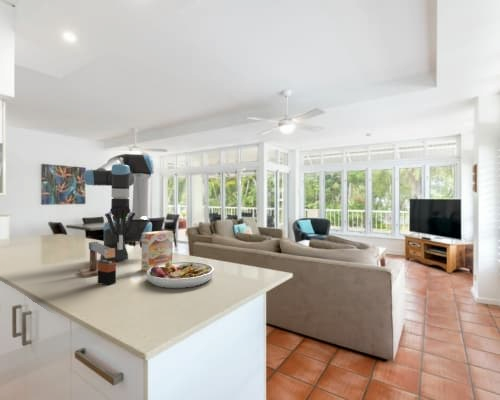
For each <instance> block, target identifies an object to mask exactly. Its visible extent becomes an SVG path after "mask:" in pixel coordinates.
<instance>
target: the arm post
mask: <svg viewBox="0 0 500 400" xmlns="http://www.w3.org/2000/svg"><path fill="white" fill-rule="evenodd" d="M97 262H98V253H97V252H95V251H93V250H91V249H89V268H86V269H85V268H84V269H79V270H78V273H79V274H80V275H81V276H82V277H83V278H84V279H85V278H90V277H91V278H92V277H96V276H97V277H98V263H97Z"/></svg>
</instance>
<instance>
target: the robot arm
mask: <svg viewBox="0 0 500 400" xmlns="http://www.w3.org/2000/svg"><path fill="white" fill-rule="evenodd" d="M154 169H155V168H154V162H153V158H152V156H151V155H149V154H137V153H136V154H134V153H133V154H132V153H131V154H130V153H129V154H128V153H123V154H119V155H115V156H113V157H111V158H109V159H108V160H107V162H106V163H104V164H102V165H101V166H100V167H97V168H96V169H86V170H85V171H84V173H83V182H84V184H85V185H87V186H94V187H95V186H107V187H108V186H109V187H110V186H111V195H110V196H111V200H110V201H111V202H110V205H111V206H110V210H109V212H107V213H104V216H105V218H106V220H107V222H105V223H104V224H103V245H105V246H107V247H109V248H114V249H115V257H112V258H105V256H103V255H101V254H100V256H99V260H100V262H103V261H102V260H107V261H112V262H115V263H116V262H118V263H119V262H122V261H123V262H124V261H126V260H128V259H129V254H128V253H129V252H128V250H127V248H126V243H127V242H128V243H133V242H134V243H135V242H136V243H138V242H139V243H142V233H145V232H153V231H152V229H153V223H152V222H151V221H150V219H149V217H148V200H149V199H148V195H149V194H148V193H149V192H148V191H149V179H150V178H152V175H153V174H154V172H155V170H154ZM131 186H132V206H131V208H132V210H131V209H130V187H131ZM127 216H128V218H127ZM112 217H114V220H113V219H112ZM126 220H127V221H126Z"/></svg>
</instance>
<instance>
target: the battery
mask: <svg viewBox="0 0 500 400" xmlns="http://www.w3.org/2000/svg"><path fill="white" fill-rule="evenodd" d="M102 261H103V262H102ZM102 261H100V262H98V263H97V267H98V275H97V284H100V285H105V286H110V285H113V284H117V279H116V278H117V263H116V262H112V261H107V260H102Z"/></svg>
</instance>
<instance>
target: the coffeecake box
mask: <svg viewBox="0 0 500 400" xmlns="http://www.w3.org/2000/svg"><path fill="white" fill-rule="evenodd" d="M173 233H174V231H172V230H158V231H157V230H156V231H155V230H154V231H151V232H145V233H142V242H141V263H140V264H141V268H140V270H141V271H144V270H145V272H147V271H148V270H149V269H150V268H152V267H155V266H158V265H161V264H167V263H173V247H174V246H173V244H174V243H173V242H174V241H173V240H174V239H173V238H174V237H173V236H174V234H173Z"/></svg>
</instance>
